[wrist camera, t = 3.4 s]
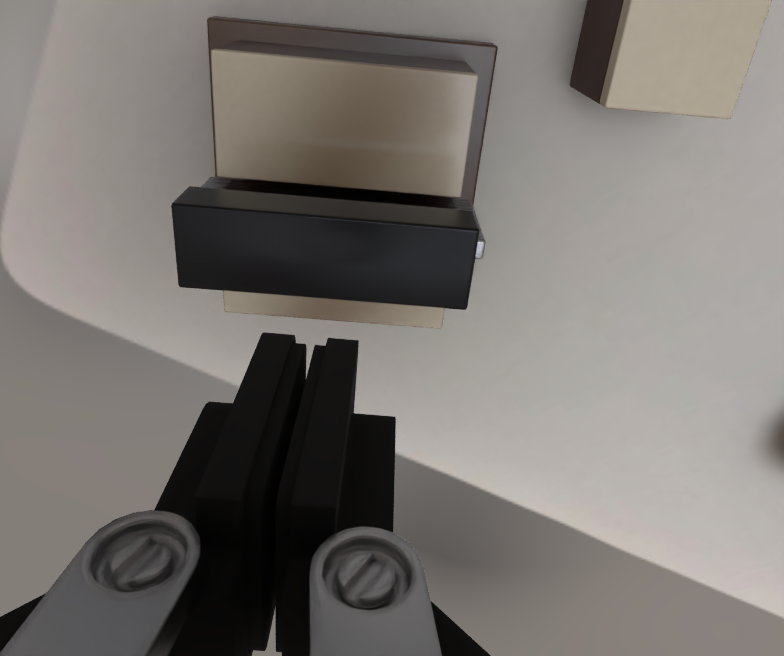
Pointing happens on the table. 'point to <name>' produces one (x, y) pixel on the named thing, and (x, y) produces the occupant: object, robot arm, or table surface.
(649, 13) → the two-tone brown cube
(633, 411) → the table surface
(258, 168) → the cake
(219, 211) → the black and silver bar
